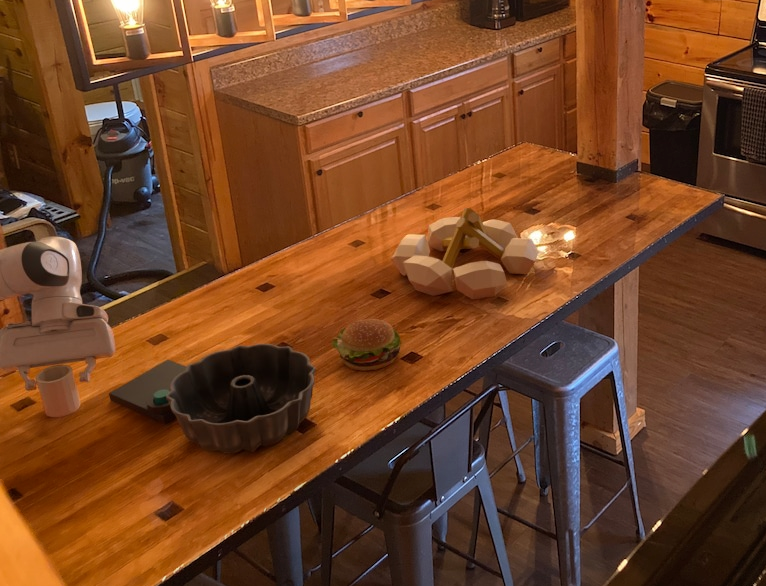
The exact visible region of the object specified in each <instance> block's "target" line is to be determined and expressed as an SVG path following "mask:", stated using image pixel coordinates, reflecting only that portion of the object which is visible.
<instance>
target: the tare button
mask: <svg viewBox="0 0 766 586" xmlns="http://www.w3.org/2000/svg"><path fill="white" fill-rule="evenodd" d="M168 393H169V391H168V390H159V391H157V392H155V393H154V400H155V403H156V404H163V403H166V402H168V400H167V399H166V395H167V394H168Z"/></svg>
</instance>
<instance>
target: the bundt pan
mask: <svg viewBox="0 0 766 586" xmlns="http://www.w3.org/2000/svg"><path fill="white" fill-rule="evenodd" d="M316 372H317V367H316V366H315V365H312V364H311V359H310V357H309V356H308V354H305V353H304V352H301V351H297V350H293V348H292V347H291V346H289V345H287V346H278V345H276V344H272V343H257V344H256V343H255V344H252V345H248V346H247V345H236V346H233V347H232V348H230V349H223V350H219V351H214V352H212V353H209V354H207V355H205V356H204V357H202V358H201V359H199V361H196V362H193V363H190V364H189V363H188V365H186V370H185V371H184V372H182V373H180V374H179V375H177V376H176V377H175V378H174V379H173V380H172V382H171V384H170V388H171V391H170V392H169V393H168V394H167V395H166V399H167V400H168V401H169V402H170V403H171V404H170V407H171V410H172V412H173V413H174V414H175V415H176V418H175V419H176V420H177V422H178V424H179V426H180V428H181V430H182V433H183V435H184V436H185V437H186V438H187V439H188V440H189V442H192V443H194V444H197V445H199V446H200V448H201V449H202V450H204V451H206V452H215V451H217V450H218V451H219V452H221V453H224V454H236V453H238V452H241V451H242V450H246V451H248V452H249V453H250V452H251V453H254V452H255V451H256V450H257V449H258V448H259V447H260V446H263V447H267V446H268V447H269V446H272V445H275V444H277V443H279V442H280V441H281V440H282V439H283V438H284V437H285V436H290V435H293V434H294V433H296V431H297V430H298V428H299V425H300V423H303V421H304V420H305V419H306V418H307V416H308V414H309V412H310V410H311V400H312V397H313V389H314V385H315V376H314V374H315V373H316Z"/></svg>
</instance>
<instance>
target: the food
mask: <svg viewBox="0 0 766 586" xmlns="http://www.w3.org/2000/svg"><path fill="white" fill-rule="evenodd" d="M400 336H401V335H400V334H399V332H398V331H397V328H395V329H394V327H393V326H392V324H390V323H388V321H385V320H382V319H380V318H379V319H378V318H364V319H360V320H356V321H354V322H353V323H351V324H349V325H348V326H347V327H346V328H342V329H341V330H340V331H339V333H338V334H337V337H335V336H334V337H333V339H332V340H331V345H332V346H333V349H335V350H336V351H337V352H338V353H339V357H340V359H341V360H342V363H343V364H344V365H345V366H346V367H348V368H349V369H351V370H356V371H361V372H366V371H376V370H379V369H383V368H385V367H387V366H389V365H391V364H392V363H394V361H395V360H396V359H397V357H398V356H399V353H400V350H401V345H402V340H401V337H400Z"/></svg>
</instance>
